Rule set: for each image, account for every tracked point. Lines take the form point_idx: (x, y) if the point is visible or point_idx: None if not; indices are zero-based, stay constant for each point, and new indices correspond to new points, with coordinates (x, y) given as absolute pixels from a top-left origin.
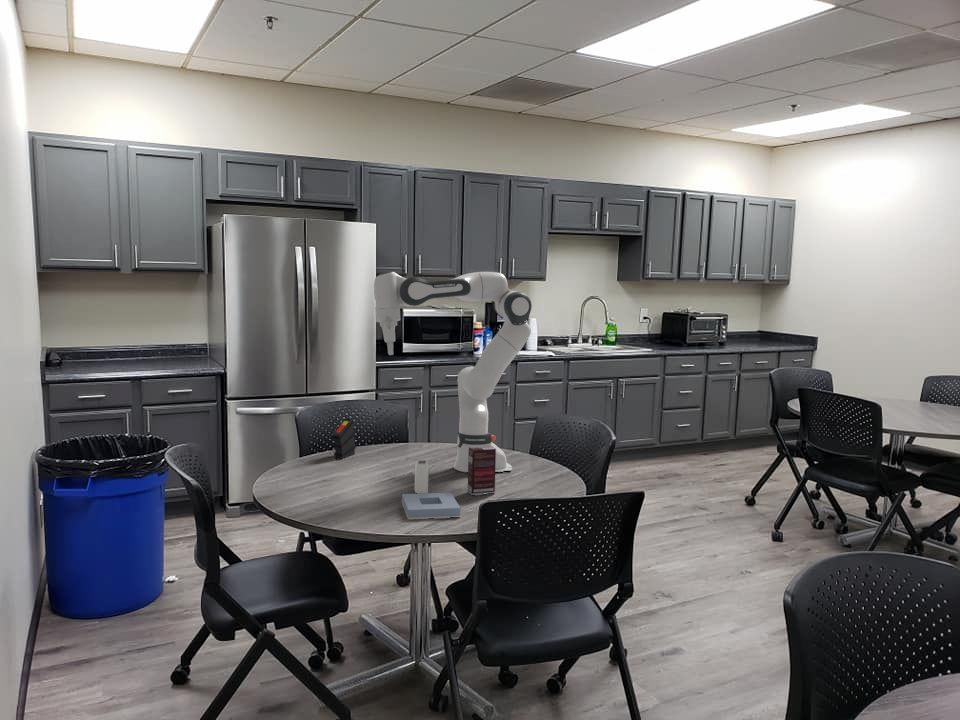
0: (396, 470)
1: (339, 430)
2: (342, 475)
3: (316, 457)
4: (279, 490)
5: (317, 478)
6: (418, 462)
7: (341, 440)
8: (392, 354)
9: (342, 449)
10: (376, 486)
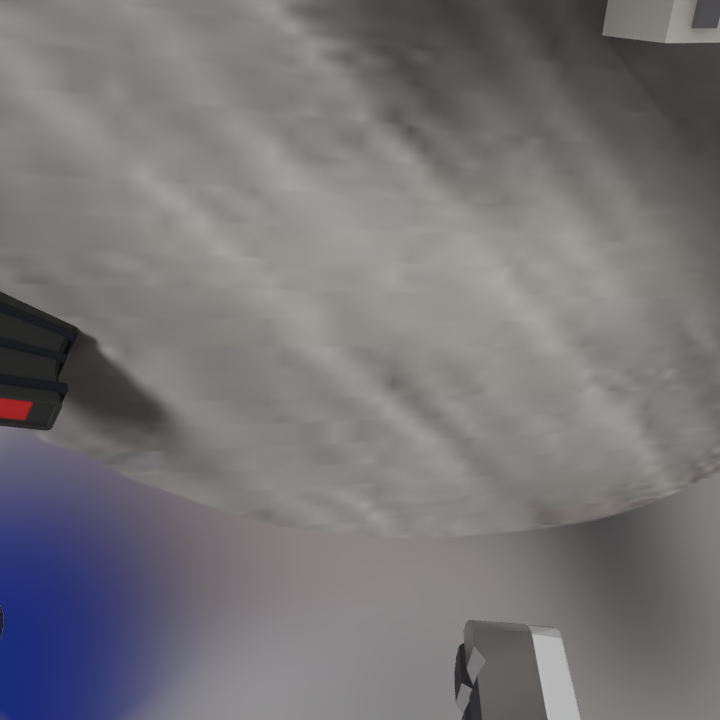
0: (256, 87)
1: (10, 408)
2: (332, 325)
3: None
4: (488, 495)
5: (366, 404)
6: (705, 27)
7: (49, 373)
8: (556, 637)
9: (55, 345)
10: (508, 203)
